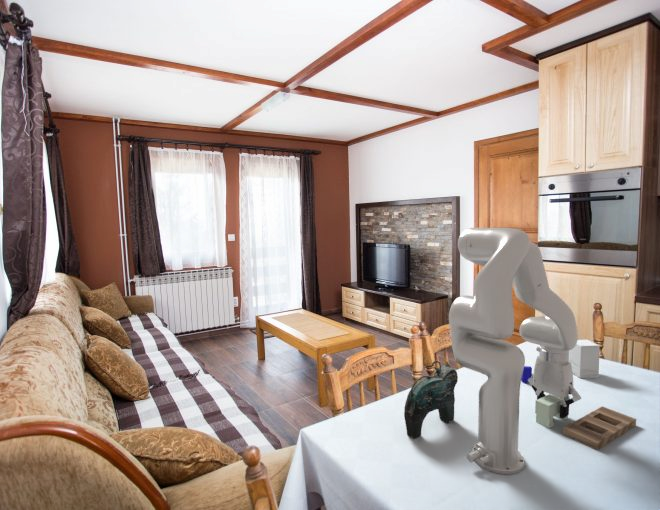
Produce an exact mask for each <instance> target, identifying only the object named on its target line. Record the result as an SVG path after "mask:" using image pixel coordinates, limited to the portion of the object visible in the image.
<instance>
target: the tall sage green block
mask: <svg viewBox="0 0 660 510" xmlns="http://www.w3.org/2000/svg"><path fill="white" fill-rule="evenodd" d="M545 395H546V394H545ZM560 405H562V403H561V400H560V397H557V396H554V395H552V394H549V393H548V394H547V395H546V396H544V397H542V398H540V399H538V400H537V399H536V400H535V407H534V408H535V412H534V413H535V423H537V424H539V425H542V426H544V427H547V428H548V429H550V428H552V427H553V426H554V417H556V418H558V419H561V418H560ZM568 417H569V415H568V416H567V417H565V418H563V419H562V420H564V421H566V419H569V418H568Z"/></svg>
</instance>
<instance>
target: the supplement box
mask: <svg viewBox="0 0 660 510" xmlns="http://www.w3.org/2000/svg"><path fill="white" fill-rule="evenodd" d="M600 347H601V346H600V345H599V344H597V343H596V342H593V341H591V340H589V339H578V340H577V344H576V346H575V347H574V348H573V349H572V350H569V362H570V363H571V366H572V372H573V375H575V376H576V377H578V378H579V379H591V378H592V379H593V378H594V379H595V378H597V379H598V378H599V370H600Z"/></svg>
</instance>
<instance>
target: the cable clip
mask: <svg viewBox="0 0 660 510" xmlns="http://www.w3.org/2000/svg"><path fill="white" fill-rule="evenodd" d="M532 371H533V367H532V366H527V365H524V370H523V374H522V378H521V383H523V384H530V383H529V382H528V379H529V378H531V377H532V374H533V372H532Z"/></svg>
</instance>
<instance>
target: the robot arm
mask: <svg viewBox="0 0 660 510" xmlns="http://www.w3.org/2000/svg"><path fill="white" fill-rule="evenodd" d="M457 249H458V252H459V253H460V256H462V258H464V259H465V260H466V261H469V262H471V263H473V264H475V265H477V266H480V267H482V268H481V269H480V270H479V272H477V275H476V276H475V278H474V280H473V294H474V295H461V296H458V297H456V298H455V299H454V301H453V302H452V303H451V306H450V308H449V312H448V324H449V331H450V338H451V347H452V353H453V357H454V359H455V361H456V363H457V364H458V365H460V367H463V368H466V369H468V370H471V371H474V372H477V373H480V374H482V375H485V376H486V377H487V380H486V381H484V383H482V385H480V387H479V390H478V416H477V417H478V422H477V423H478V426H477V428H478V429H477V430H478V434H477V439H478V440H477V442H476V443H475V444H473V446H472V448H471V452H469V453H468V454H466V459H467V461H468V462H469V463H473V462H476V464H477V465H479V467H482V468H483V469H484V470H487V471H489V472H492V473H494V474H495V473H496V474H500V475H514V474H517V473H519V472H522V471H523V469H524V467H525V466H526V465H525V462H526V461H525V457H524V455H523V454H522V453H521V452H520V451H519V435H520V434H519V432H520V431H519V426H520V396H521V395H520V394H521V393H520V392H521V383H522V381H521V378H522V374H523V370H524V366H526V365H525V364H526V358H525V353H524V352H523V351H522V349H521V348H520V347H518V346H517V345H516V344H514V343H511V342H509V341H507V340H506V339H509V338H510V337H511V336H512V335H513V334H514V330H515V313H514V311H515V310H514V303H513V290H514V294H515V297H516V298H517V299H518V300H519V301H520V302H522V303H523V304H525V305H527V306H528V307H530V308H532V309H534V310H536V311H538V312H540V313H542V314H543V315H541V316H530V317H527V318H525V319H524V320H523V321H522V322H521V324H520V326H519V330H518V331H519V335H520V337H521V338H522V339H523V340H524V341H525V342H527V343H531V344H535V345H538V346H537V347H536V351H537V352H539V355H537V356H536V360H535V362H534V367H533V373H532V374H533V376H532V377H531V378H529V379H528V382H529V383H528V384H530V386H531V388H532V390H533V391H534V392H535V396H536V400H538V399H540V398H542V397H544V396H546V394H548V395H549V394H552V395H554V396H557V397H560V400H561V403H562V405H560V418H559V419H561V420H563V418H565V417H567V416H568V417H569V414H570V405H572V404H574V403H576V402H578V401H580V400H581V399H582V396H581V395H580V394H579V392H578V391H577V390H576V388H575V387H574V374H573V372H572V366H571V363H570V362H569V350H572V349H573V348H574V347H575V346H576V344H577V340H579V339H578V338H579V334H578V327H577V322H576V318H575V314H574V312H573V310H572V309H571V308H570V307H569V305H568V304H567V303H566V302H565V300H563V299H562V298H561V297H560V296H559V295H558V294H557V293H555V291H553V290H552V289H551V288H550V285H549V281H548V278H547V276H548V275H547V273H546V269H545V265H544V260H543V256H542V252H541V249H540V247H539V245H537V244H536V243H534V242H532V241H530V236H529V234H528V233H527V232H525V231H523V230H522V229H517V228H511V227H469V228H467V229H464V230H463V231H462V232H461V233H460V234H459V237H458V239H457ZM505 340H506V341H505ZM545 393H546V394H545ZM570 395H571V396H572V397H570Z"/></svg>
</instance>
